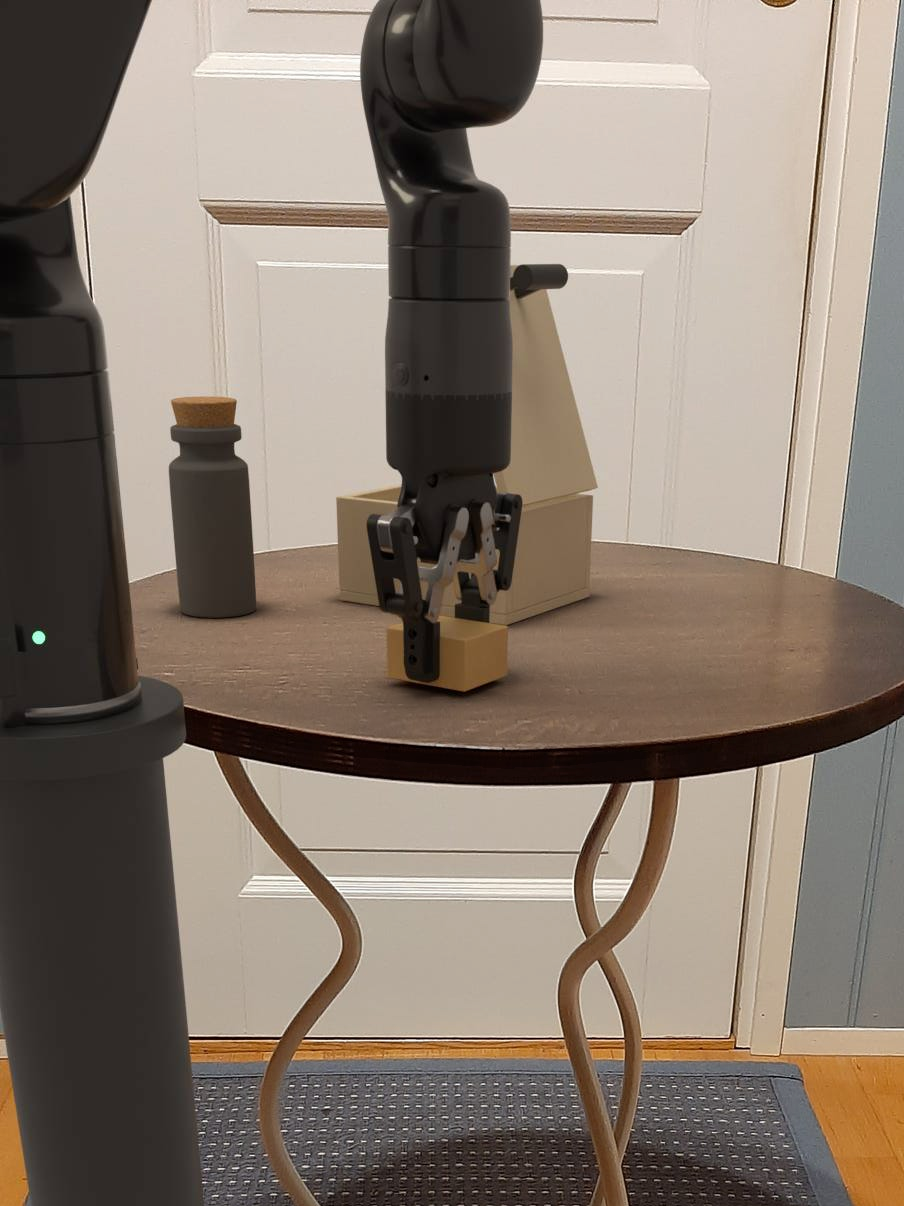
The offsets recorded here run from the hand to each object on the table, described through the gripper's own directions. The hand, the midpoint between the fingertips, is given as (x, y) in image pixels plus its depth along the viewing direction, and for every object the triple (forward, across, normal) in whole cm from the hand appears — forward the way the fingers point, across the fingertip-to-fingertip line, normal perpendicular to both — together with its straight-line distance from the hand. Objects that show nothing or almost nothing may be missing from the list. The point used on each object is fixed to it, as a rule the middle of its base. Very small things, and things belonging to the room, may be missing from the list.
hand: (447, 670), depth 97 cm
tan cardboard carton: (0, 0, 0) cm, 0 cm away
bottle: (+1, +8, +27) cm, 28 cm away
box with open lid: (+1, +22, +14) cm, 26 cm away
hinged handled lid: (-15, +22, +9) cm, 28 cm away
